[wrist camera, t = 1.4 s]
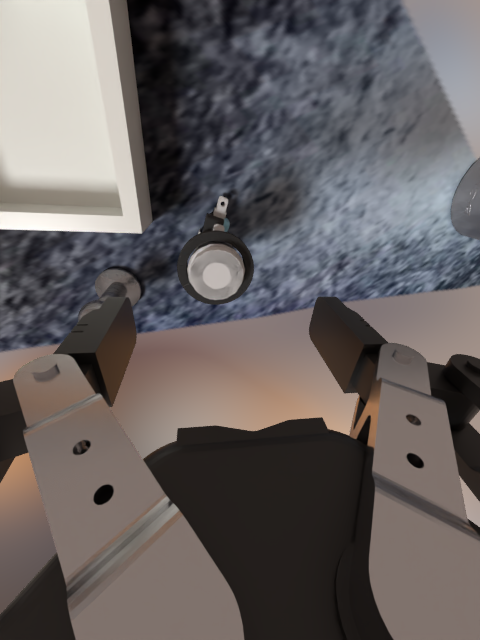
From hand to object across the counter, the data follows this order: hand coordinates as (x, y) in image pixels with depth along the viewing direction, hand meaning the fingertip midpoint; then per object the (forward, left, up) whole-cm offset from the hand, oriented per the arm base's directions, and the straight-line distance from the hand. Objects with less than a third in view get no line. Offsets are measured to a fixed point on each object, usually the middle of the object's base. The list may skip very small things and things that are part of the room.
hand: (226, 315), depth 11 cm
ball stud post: (+10, +6, -16) cm, 20 cm away
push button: (0, 0, -17) cm, 17 cm away
